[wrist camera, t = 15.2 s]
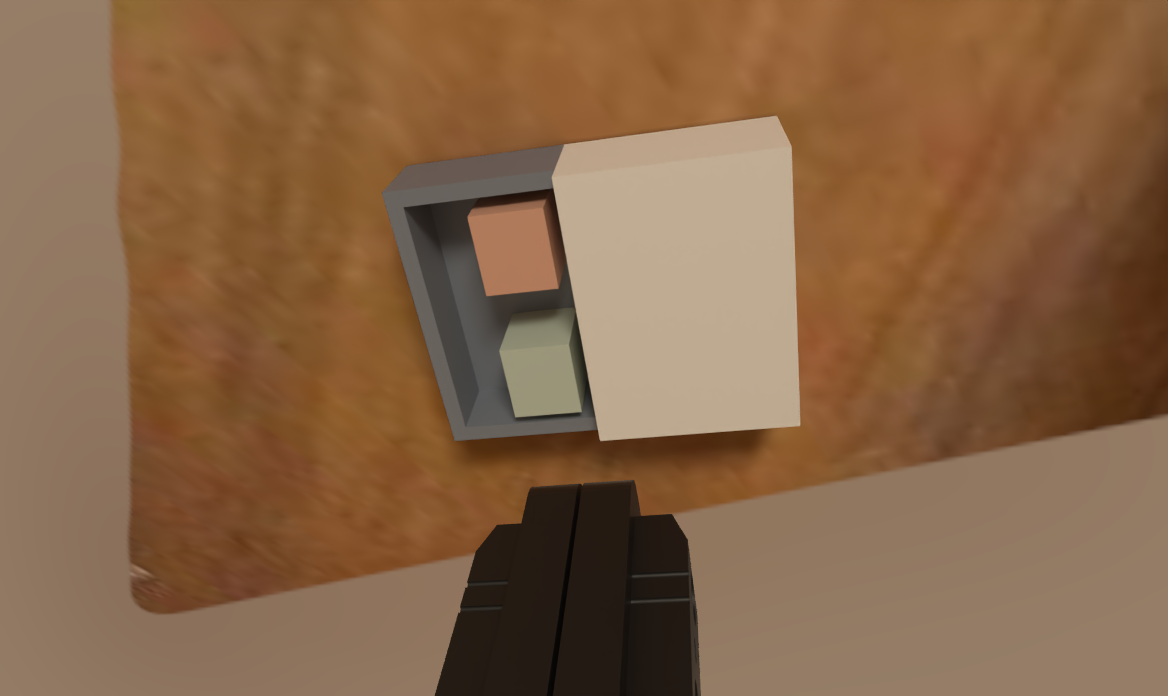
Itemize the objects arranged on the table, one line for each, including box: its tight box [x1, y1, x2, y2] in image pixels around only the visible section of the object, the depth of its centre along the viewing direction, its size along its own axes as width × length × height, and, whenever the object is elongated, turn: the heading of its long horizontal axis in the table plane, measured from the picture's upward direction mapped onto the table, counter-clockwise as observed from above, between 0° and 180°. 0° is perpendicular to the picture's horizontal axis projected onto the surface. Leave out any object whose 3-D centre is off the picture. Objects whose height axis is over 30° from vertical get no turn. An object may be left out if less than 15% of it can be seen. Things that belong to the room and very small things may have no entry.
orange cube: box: [467, 188, 566, 296], centre depth 38 cm, size 4×4×4 cm
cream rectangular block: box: [552, 116, 800, 441], centre depth 39 cm, size 10×14×5 cm
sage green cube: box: [499, 307, 588, 417], centre depth 42 cm, size 4×4×4 cm
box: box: [382, 145, 598, 441], centre depth 41 cm, size 8×14×4 cm, turn 9°
